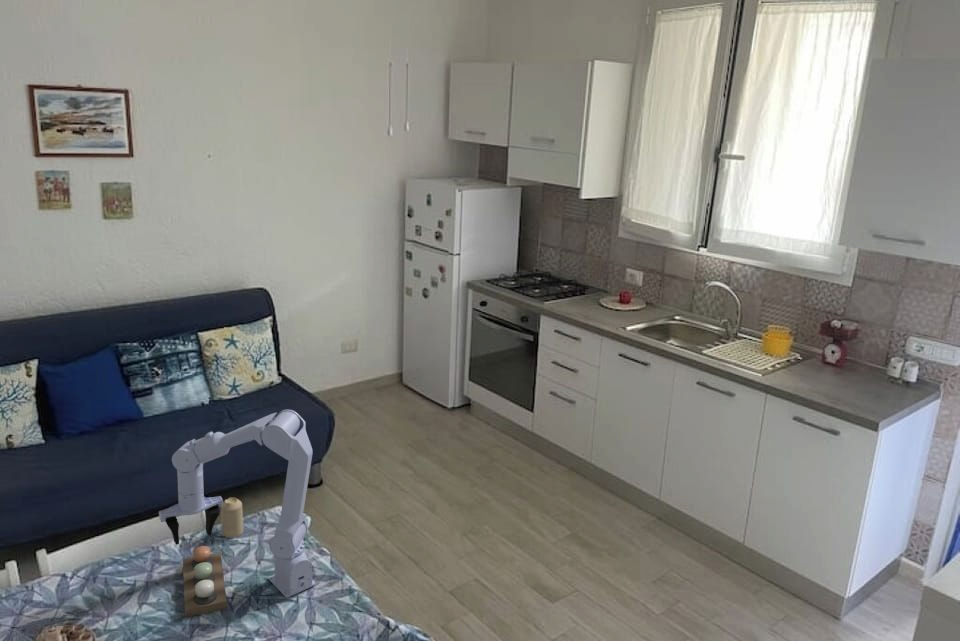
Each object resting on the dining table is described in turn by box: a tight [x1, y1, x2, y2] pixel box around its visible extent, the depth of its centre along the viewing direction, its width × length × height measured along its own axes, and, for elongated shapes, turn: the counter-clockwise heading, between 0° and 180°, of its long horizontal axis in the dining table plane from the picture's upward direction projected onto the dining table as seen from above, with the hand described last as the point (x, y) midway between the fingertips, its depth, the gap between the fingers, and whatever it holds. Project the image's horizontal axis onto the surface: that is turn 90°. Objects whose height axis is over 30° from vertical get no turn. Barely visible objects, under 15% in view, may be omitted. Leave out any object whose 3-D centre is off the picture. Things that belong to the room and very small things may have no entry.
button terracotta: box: [192, 545, 212, 562], centre depth 178 cm, size 4×4×2 cm
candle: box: [220, 496, 244, 539], centre depth 194 cm, size 6×6×10 cm
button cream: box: [195, 580, 214, 597], centre depth 166 cm, size 4×4×2 cm
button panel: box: [182, 551, 228, 618], centre depth 173 cm, size 20×9×2 cm, turn 23°
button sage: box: [194, 562, 212, 579], centre depth 172 cm, size 4×4×2 cm
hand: (192, 537), depth 177 cm, fingers open, 7 cm apart
